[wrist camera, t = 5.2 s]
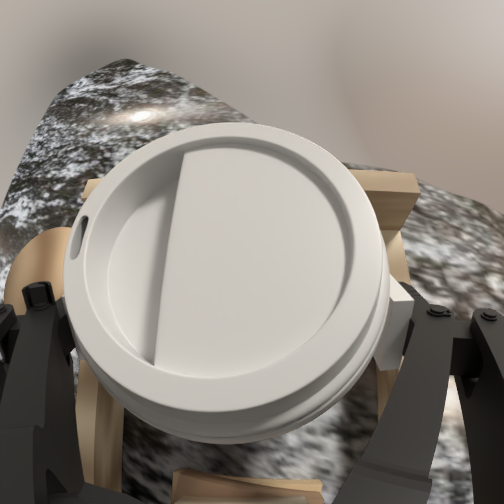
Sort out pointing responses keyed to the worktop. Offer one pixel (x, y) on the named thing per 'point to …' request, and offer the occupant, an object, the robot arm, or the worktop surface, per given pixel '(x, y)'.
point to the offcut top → (243, 500)
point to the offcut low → (263, 482)
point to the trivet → (37, 266)
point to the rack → (112, 412)
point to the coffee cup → (227, 282)
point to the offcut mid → (232, 488)
